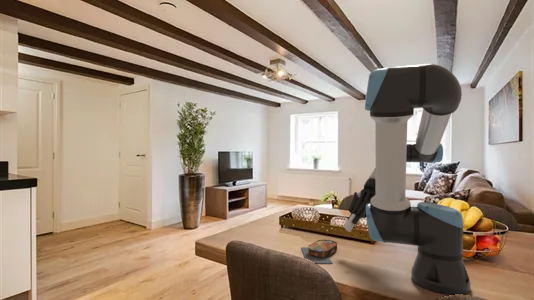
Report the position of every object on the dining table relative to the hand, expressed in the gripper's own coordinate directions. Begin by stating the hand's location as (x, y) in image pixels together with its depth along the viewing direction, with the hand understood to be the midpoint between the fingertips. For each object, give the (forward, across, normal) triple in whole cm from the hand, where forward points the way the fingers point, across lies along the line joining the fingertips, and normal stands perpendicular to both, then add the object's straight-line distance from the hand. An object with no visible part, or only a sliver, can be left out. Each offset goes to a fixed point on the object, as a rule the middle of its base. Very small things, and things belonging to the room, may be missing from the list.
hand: (346, 229), depth 109 cm
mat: (+15, +4, +2) cm, 16 cm away
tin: (+10, +1, -1) cm, 10 cm away
